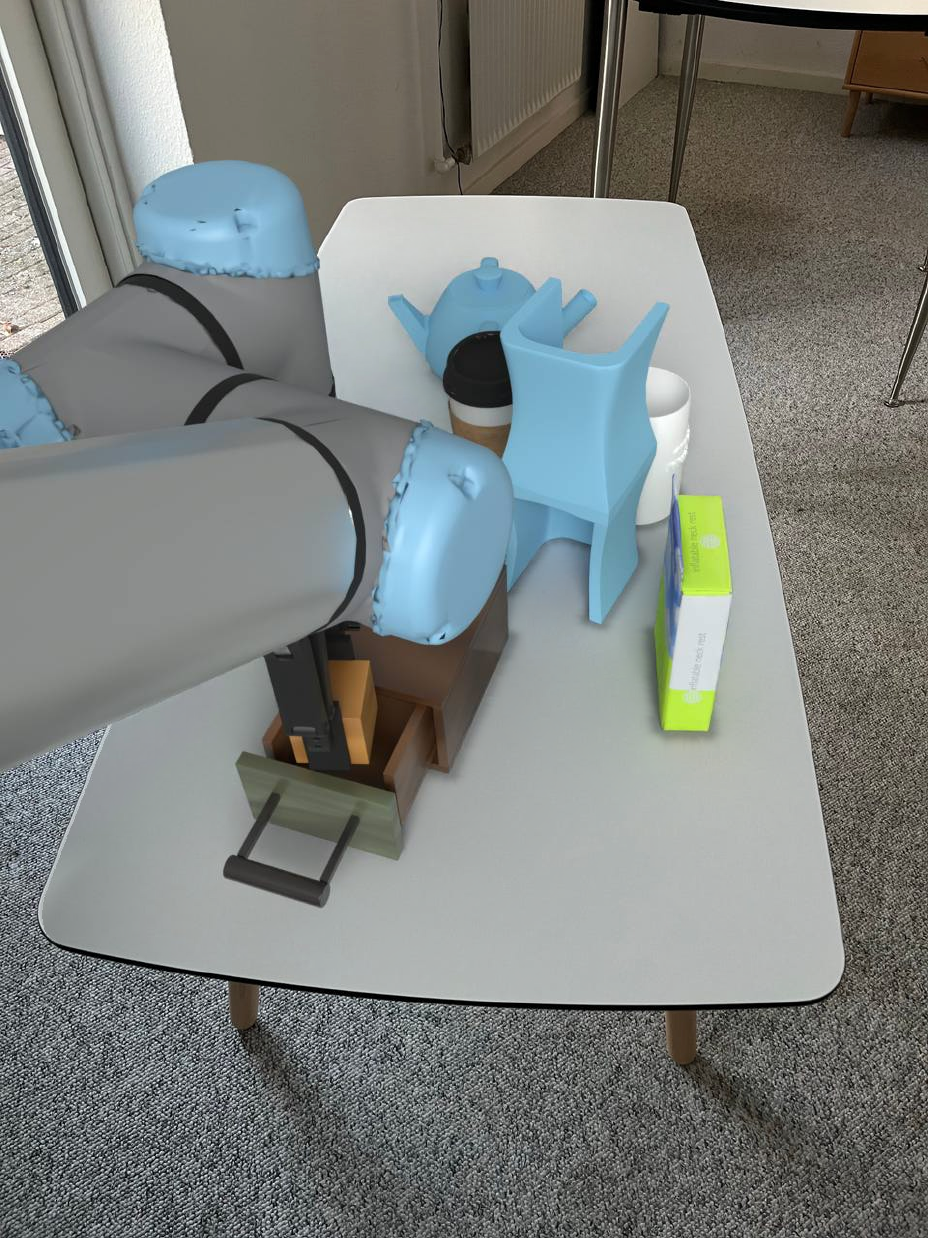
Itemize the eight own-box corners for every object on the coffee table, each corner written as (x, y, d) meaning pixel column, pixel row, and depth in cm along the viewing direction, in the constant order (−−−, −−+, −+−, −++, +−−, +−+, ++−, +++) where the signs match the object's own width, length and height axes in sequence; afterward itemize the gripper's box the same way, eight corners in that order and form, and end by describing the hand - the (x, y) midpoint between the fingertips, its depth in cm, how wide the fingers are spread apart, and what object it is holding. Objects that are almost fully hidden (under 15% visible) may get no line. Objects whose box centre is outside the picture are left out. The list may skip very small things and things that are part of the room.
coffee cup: (549, 472, 105) (551, 338, 94) (517, 526, 100) (515, 390, 89) (471, 453, 107) (464, 320, 97) (435, 504, 102) (424, 370, 91)
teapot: (509, 427, 110) (507, 331, 102) (390, 369, 118) (379, 276, 110) (599, 361, 118) (604, 266, 110) (481, 311, 126) (477, 220, 118)
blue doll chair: (645, 552, 96) (671, 303, 78) (601, 624, 91) (617, 373, 72) (547, 521, 100) (549, 275, 82) (498, 588, 94) (489, 339, 76)
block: (296, 763, 73) (283, 717, 69) (308, 705, 76) (296, 659, 73) (369, 764, 72) (360, 718, 69) (378, 706, 76) (369, 660, 72)
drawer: (359, 948, 71) (346, 897, 66) (207, 899, 74) (184, 846, 69) (462, 716, 83) (458, 658, 78) (330, 682, 86) (317, 625, 81)
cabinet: (449, 774, 81) (442, 702, 75) (298, 734, 84) (280, 662, 78) (508, 638, 90) (506, 564, 84) (371, 606, 93) (359, 533, 87)
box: (710, 734, 82) (742, 572, 70) (656, 732, 83) (678, 571, 70) (700, 633, 89) (726, 470, 77) (650, 632, 90) (668, 469, 77)
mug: (688, 451, 106) (702, 346, 97) (676, 530, 98) (690, 423, 89) (605, 442, 108) (612, 338, 99) (587, 520, 100) (592, 413, 91)
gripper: (321, 586, 51) (375, 847, 68) (368, 370, 63) (403, 636, 80) (167, 585, 51) (258, 843, 68) (243, 371, 64) (304, 635, 80)
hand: (336, 731), depth 74 cm, fingers closed on block, 5 cm apart
